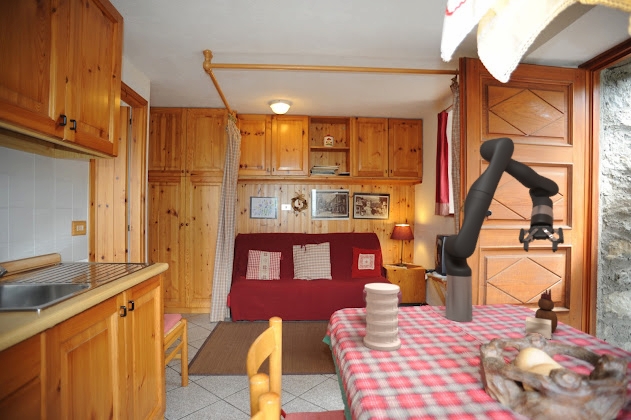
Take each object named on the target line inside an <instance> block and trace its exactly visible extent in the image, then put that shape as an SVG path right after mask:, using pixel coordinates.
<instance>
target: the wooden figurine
mask: <svg viewBox="0 0 631 420" xmlns="http://www.w3.org/2000/svg"><path fill="white" fill-rule="evenodd" d="M537 305H538V309H537V310H536V312H535V314H534V316H535V317H534V318H539V319H546V320H551V333H553V332H555V331H556V330H557V328H558V323H559V322H558V315H557V313H556V312H555V311H553V310H554V308H555V303H554V300H552V290H551V288H550V289H548V290H547V289H545V291H543V293H541V294H540V298H539V299H538V301H537Z"/></svg>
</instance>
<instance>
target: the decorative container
mask: <svg viewBox="0 0 631 420" xmlns="http://www.w3.org/2000/svg"><path fill="white" fill-rule="evenodd" d="M364 289H365V291H367V296H366V302H367V306H366V305H365V312H366V315H365V321H366V325H365V332H366V335H365V336H363V345H364V346H366V348H368V349H370V350H374V351H377V352H378V351H379V352H391V351H392V352H394V351H397V350H399V349H401V347H402V340H401V339H400V338H399V337H398V335H399V332H400V331H399V328H398V324H399V318H398V315H399V312H400V311H399V308H398V307H397V304H398V297H397V293H399V292H400V291H401V289H400V286H399V285H397V284H394V283H393V284H392V283H386V282H385V283H384V282H373V283H366V284H365V285H364Z"/></svg>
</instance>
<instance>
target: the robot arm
mask: <svg viewBox="0 0 631 420" xmlns="http://www.w3.org/2000/svg"><path fill="white" fill-rule="evenodd" d="M514 151H515V142H514V141H513V139H511V138H510V137H508V136H507V137H496V138H491V139H488V140H485V141H484V142H482V143H481V145H480V147H479V154H480V157H481V159H483V160H484V161H485V162H487V163H488V165H487V167H486V168H485V170H484V171H483V172H482V173H481V174H480V175H479V176H478V177H477V178H476V179H475V180H474V182H473V183H472V184H471V186H470V188H469V189H468V192H467V194H466V197H465V199H464V204H463V215H464V216H463V220H462V221H463V222H462V224H461V227H460V229H459V231H458V233H457V234H451V235H449V236H448V237H446V238H445V241H444V243H443V259H444V261H443V264H444V267H445V270H446V271H445V272H446V293H445V295H444V296H445V298H444V299H445V300H444V301H445V309H444V310H445V313H444V315H445V319H448V320H451V321H455V322H461V323H462V322H463V323H464V322H465V323H467V322H472V321H473V276H472V275H473V271H472V268H471V267H470V265H469V263H468V259H469V258H470V257H472V256H473V255H474V252H475V251H476V248H477V244H478V241H479V238H480V237H479V236H480V233H481V230H482V227H483V224H484V222H485V219H486V216H487V213H488V211H489V208H491V207H490V206H491V204H492V202H493V199H494V197H495V193H496V191H497V188H498V185H499V183H500V182H501V179H502V177H503V175H504V173H507V174H508V175H510V176H511V177H512V178H513V179H515V180H516V181H517V182H518V183H520V184H521V185H522V186H524V187H525V188H526V189H529V190H528V194H529V197H530V199H531V202H532V210H531V213H530V223H529V229H524V228H520V229H519V235H518V241H519V244H523V246H522V247H523V250H524V251H525V252H526V253H528V252H529V249H530V248H529V247H530V243H532V242H534V241H535V240H536V241H541V240H542V241H546V240H548V241H549V242H550V243H551V246H552V247H551V248H552V249H551V250H552V253H556V252H557V251H558V249H559V247H558V245H559V244H561V245H562V244H565V237H564V230H563V227H558V228H557V229H556V228H554V219H555V218H554V208H553V207H554V201H553V200H552V199H551V197H554V196H557V195H558V194H559V190H560V188H559V185H558V184H557V183H556V181H554V180H552V179H551V178H549V177H546V176H544V175H541V174H539V173H538V172H537V171H536V170H534V169H533V168H532V167H531V166H530V165H527V164H526V163H522V162H520V161H518V160H515V159H513V158H512V157H513V154H514ZM554 234H556V235H558V238H556V237H555V236H554ZM525 236H526V237H525Z"/></svg>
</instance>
